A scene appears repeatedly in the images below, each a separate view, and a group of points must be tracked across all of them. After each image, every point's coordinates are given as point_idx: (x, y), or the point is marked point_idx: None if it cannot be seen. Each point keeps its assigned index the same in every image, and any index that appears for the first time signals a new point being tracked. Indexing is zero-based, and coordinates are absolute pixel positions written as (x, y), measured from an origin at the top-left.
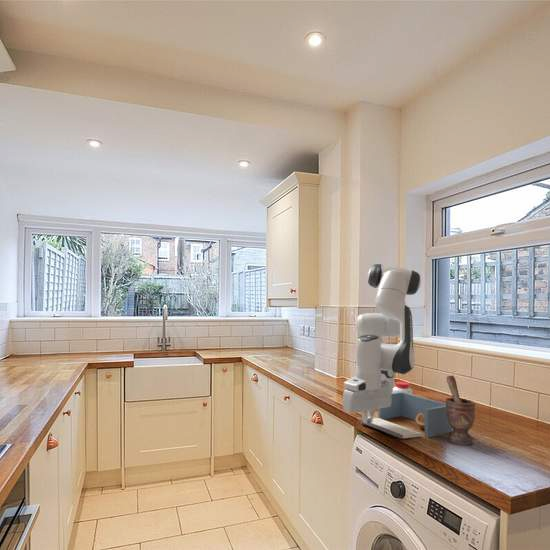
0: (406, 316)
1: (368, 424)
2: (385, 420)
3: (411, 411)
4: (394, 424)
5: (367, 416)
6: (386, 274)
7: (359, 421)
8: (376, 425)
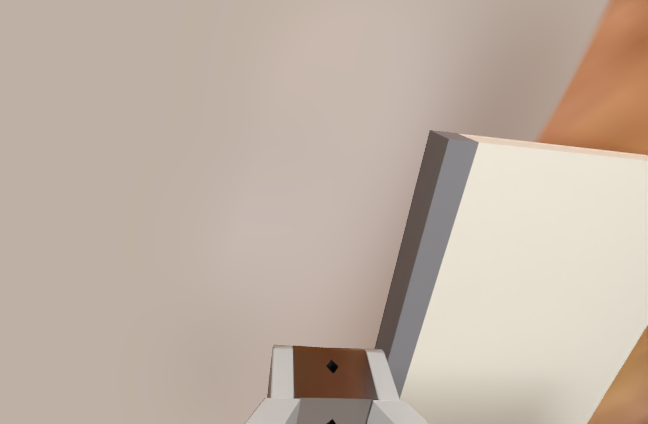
0: None
1: (396, 283)
2: None
3: None
4: (591, 384)
5: (360, 404)
6: None
7: (430, 133)
8: None
